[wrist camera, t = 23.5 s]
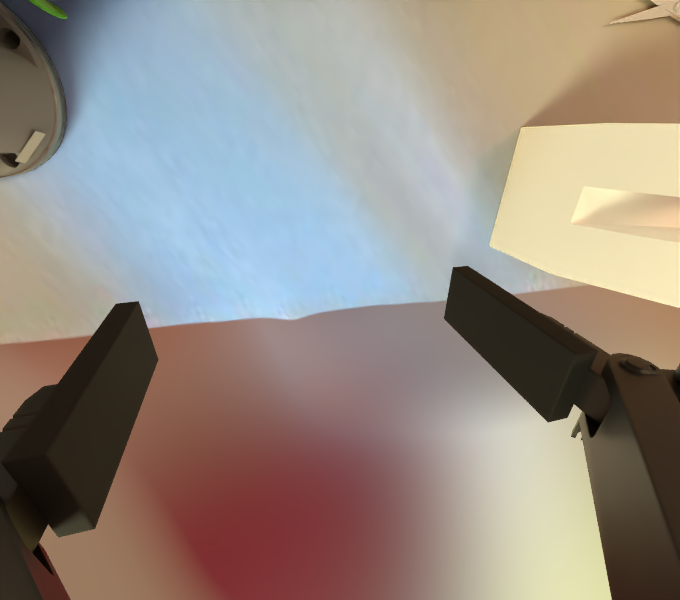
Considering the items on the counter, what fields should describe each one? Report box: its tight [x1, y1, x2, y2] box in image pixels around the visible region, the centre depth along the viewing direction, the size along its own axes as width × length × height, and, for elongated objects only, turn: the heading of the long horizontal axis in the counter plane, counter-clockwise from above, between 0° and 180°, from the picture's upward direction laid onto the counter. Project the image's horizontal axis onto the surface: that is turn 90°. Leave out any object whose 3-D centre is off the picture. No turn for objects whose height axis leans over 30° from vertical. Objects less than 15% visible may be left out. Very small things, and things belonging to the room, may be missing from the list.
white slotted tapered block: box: [489, 123, 680, 308], centre depth 36 cm, size 19×15×25 cm
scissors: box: [609, 0, 680, 24], centre depth 39 cm, size 11×1×20 cm
